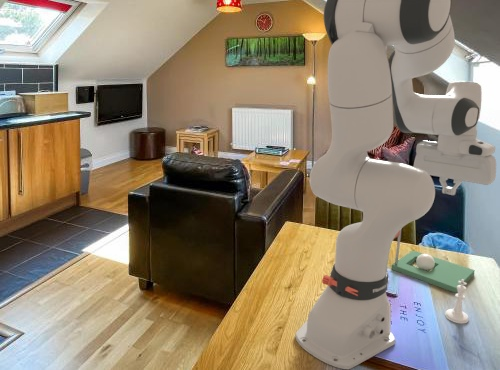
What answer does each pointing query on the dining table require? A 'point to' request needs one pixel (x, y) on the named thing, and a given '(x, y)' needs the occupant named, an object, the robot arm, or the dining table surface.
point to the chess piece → (458, 306)
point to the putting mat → (440, 276)
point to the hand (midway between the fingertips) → (448, 193)
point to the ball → (425, 262)
